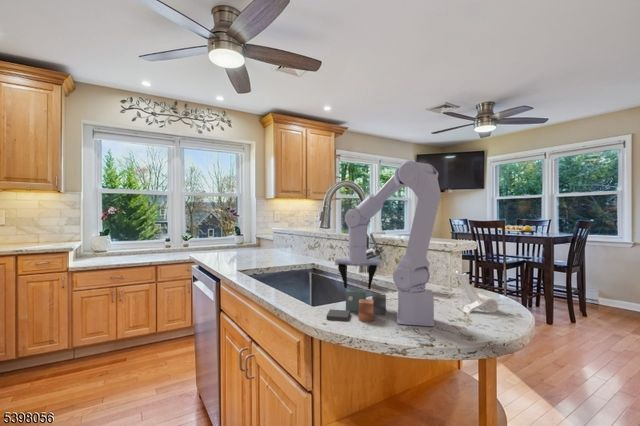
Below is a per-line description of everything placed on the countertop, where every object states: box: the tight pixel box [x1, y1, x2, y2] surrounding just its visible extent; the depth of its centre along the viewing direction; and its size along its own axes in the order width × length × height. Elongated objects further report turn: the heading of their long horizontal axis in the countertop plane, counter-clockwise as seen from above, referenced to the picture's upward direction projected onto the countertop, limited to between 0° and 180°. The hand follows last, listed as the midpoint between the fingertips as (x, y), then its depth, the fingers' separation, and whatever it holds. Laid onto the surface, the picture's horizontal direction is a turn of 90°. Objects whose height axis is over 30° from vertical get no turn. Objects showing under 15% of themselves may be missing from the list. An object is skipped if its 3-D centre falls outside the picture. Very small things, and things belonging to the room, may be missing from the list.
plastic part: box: [454, 270, 499, 314], centre depth 100 cm, size 8×10×12 cm
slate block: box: [371, 293, 387, 316], centre depth 97 cm, size 4×4×5 cm
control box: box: [345, 287, 367, 313], centre depth 99 cm, size 6×5×6 cm
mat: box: [326, 308, 351, 322], centre depth 93 cm, size 6×6×1 cm
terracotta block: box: [358, 298, 375, 322], centre depth 91 cm, size 4×4×5 cm
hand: (357, 287), depth 104 cm, fingers open, 7 cm apart
